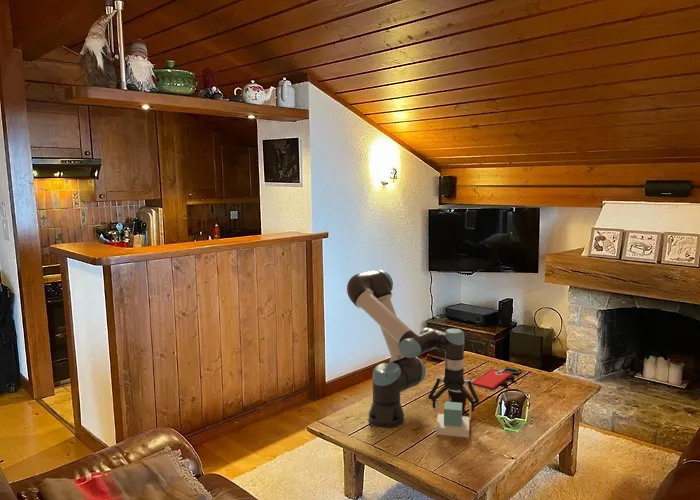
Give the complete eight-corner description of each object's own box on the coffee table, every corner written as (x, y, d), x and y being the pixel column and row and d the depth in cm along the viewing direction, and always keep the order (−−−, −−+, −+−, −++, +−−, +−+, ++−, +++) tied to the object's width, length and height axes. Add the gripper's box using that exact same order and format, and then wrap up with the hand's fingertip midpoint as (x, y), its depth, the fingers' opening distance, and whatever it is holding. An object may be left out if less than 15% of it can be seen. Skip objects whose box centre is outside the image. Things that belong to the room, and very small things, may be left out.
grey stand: (435, 434, 219) (435, 427, 218) (437, 420, 230) (438, 413, 230) (468, 437, 216) (469, 430, 215) (469, 423, 227) (469, 416, 227)
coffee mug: (467, 414, 235) (467, 392, 233) (447, 413, 237) (447, 391, 235) (467, 403, 246) (467, 382, 244) (447, 401, 248) (448, 380, 246)
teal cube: (443, 425, 220) (444, 408, 219) (444, 417, 227) (445, 401, 225) (461, 426, 218) (461, 410, 217) (461, 418, 225) (462, 402, 224)
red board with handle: (525, 372, 280) (498, 366, 290) (525, 367, 280) (498, 361, 289) (500, 393, 257) (471, 385, 267) (500, 387, 257) (471, 380, 266)
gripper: (422, 368, 218) (421, 418, 221) (486, 373, 212) (484, 424, 216) (424, 361, 225) (423, 409, 228) (486, 366, 219) (484, 415, 223)
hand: (453, 416), depth 222 cm, fingers open, 13 cm apart
